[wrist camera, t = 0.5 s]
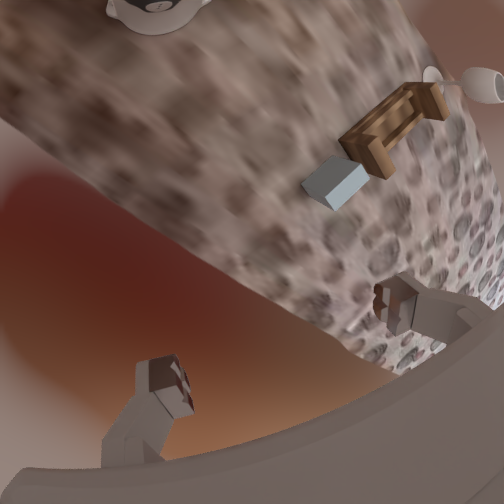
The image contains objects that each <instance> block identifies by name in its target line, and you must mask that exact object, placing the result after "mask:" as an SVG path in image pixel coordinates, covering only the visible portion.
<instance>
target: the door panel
mask: <svg viewBox="0 0 504 504" xmlns="http://www.w3.org/2000/svg"><path fill="white" fill-rule="evenodd" d="M369 179H370V178H369V176H368V175H367V173H366V171H365V169H364V168H363V166H362V164H361V163H357V162H354V161H351V160H347V159H344V158H340V157H337V156H333V155H332V156H331V157H330V158H329V159H328V160H327V161H326V162H325V163H323V164H322V165H321V166H320V167H319V168H318V169H317V170H316V171H315V172H314V173H312V174H311V175H310V176H309V177H308V178H307V179H306V180H305V181H304V182H302V183H301V185H302V187H303V188H304V189H305V190H306V192H307V193H308V194H309V196H310V197H312V198H313V199H315V200H317V201H318V202H320V203H322V204H323V205H325V206H327V207H328V208H330V209H332V210H333V211H336V210H337V209H339V208H340V207H341V206H342V205H343V204H344V203H345V202H346V201H347V200H348V199H349V198H350V197H351V196H352V195H353V194H354V193H355V192H356V191H358V190H359V189H360V188H361V187H362V186H363V185H364V184H365V183H366V182H367V181H368V180H369Z"/></svg>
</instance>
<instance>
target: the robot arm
mask: <svg viewBox="0 0 504 504" xmlns="http://www.w3.org/2000/svg"><path fill="white" fill-rule="evenodd" d="M211 1H212V0H108V4H107V8H106V13H107V15H108V16H110V17H112V18H115V19H119V20H120V21H122V22H123V23H124V24H125V25H126V26H127V27H128V28H129V29H131V30H132V31H134V32H137V33H140V34H145V35H161V34H166V33H169V32H172V31H175V30H177V29H179V28H181V27H182V26H184V25H185V24H187V23H188V22H189V21H190V20H191V19H192V18H193V17H194V16H195V14H196V13H197V11H198V10H199V9H200V8H201V7H203V6H204V5H206V4H208V3H209V2H211ZM112 5H113V6H112ZM374 293H375V295H376V297H375V298H374V300H373V310H374V313H375V315H376V317H377V318H378V319H379V320H380V321H382V322H385V323H387V328H388V330H389V331H390V332H391V333H392V334H393V335H394V336H395V337H396V336H398V335H400V334H402V333H404V332H406V331H408V330H410V329H411V330H413V331H415V332H418V333H420V334H423V335H425V336H428V337H430V338H433V339H435V340H438V341H440V342H443V343H446V344H447V345H446V348H444V349H443V350H441V351H440V352H438V353H437V354H435V355H434V356H432V357H431V358H429V359H428V360H426V361H425V362H423V363H421V364H420V365H418V366H417V367H415V368H413V369H412V370H410V371H408V372H407V373H405V374H403V375H401V376H400V377H398V378H396V379H394V380H393V381H391V382H389V383H387V384H386V385H384V386H382V387H380V388H378V389H376V390H374V391H372V392H370V393H368V394H366V395H365V396H362V397H360V398H358V399H356V400H354V401H352V402H350V403H348V404H346V405H344V406H342V407H339V408H337V409H335V410H333V411H330V412H328V413H326V414H323V415H321V416H319V417H317V418H314V419H311V420H309V421H306V422H304V423H301V424H299V425H296V426H293V427H291V428H288V429H285V430H282V431H280V432H277V433H274V434H271V435H268V436H265V437H262V438H258V439H255V440H252V441H249V442H245V443H242V444H239V445H235V446H231V447H227V448H224V449H220V450H216V451H211V452H207V453H203V454H198V455H194V456H189V457H184V458H179V459H173V460H168V461H166V460H165V459H163V458H162V457H161V456H160V452H161V450H162V448H163V445H164V443H165V441H166V438H167V436H168V434H169V431H170V429H171V427H172V424H173V422H174V419H176V418H180V417H184V416H188V415H192V414H195V411H194V406H193V400H192V398H191V397H190V395H189V393H190V392H191V388H190V383H189V380H188V377H187V374H186V372H185V370H184V369H183V368H182V367H180V363H179V359H178V357H177V356H176V354H171V355H167V356H163V357H159V358H154V359H150V360H147V361H142V362H138V363H137V365H136V390H135V393H136V394H135V396H132V397H131V398H130V400H129V401H128V403H127V404H126V406H125V407H124V409H123V410H122V412H121V413H120V415H119V416H118V418H117V419H116V420H115V422H114V424H113V425H112V426H111V428H110V429H109V431H108V432H107V434H106V435H105V437H104V438H103V440H102V454H101V468H93V469H46V468H33V467H28V468H23V469H22V470H20V471H19V472H18V473H17V474H16V476H15V477H14V478H13V479H12V480H11V482H10V483H9V484H8V486H7V487H6V488H5V489H4V491H3V493H2V495H1V498H0V504H504V303H503V304H501V305H500V306H499V307H498V308H497V309H496V310H492V309H491V308H490V307H489V306H487V305H486V304H485V303H483V302H482V301H481V300H479V299H478V298H477V297H473V296H468V295H463V294H459V293H454V292H449V291H444V290H440V289H435V288H430V289H428V288H427V287H426V286H424V285H423V284H422V283H420V282H419V281H418V280H416V279H415V278H414V277H412V276H411V275H410V274H408V273H407V272H404V271H403V272H401V273H398V274H396V275H394V276H392V277H390V278H388V279H385V280H383V281H381V282H379V283H376V284H375V286H374Z"/></svg>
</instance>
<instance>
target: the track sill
mask: <svg viewBox="0 0 504 504" xmlns="http://www.w3.org/2000/svg"><path fill="white" fill-rule="evenodd" d="M449 115H450V112H449V110H448V107H447V105H446V102H445V100H444V98H443V95H442V93H441V91H440V89H439V87H438V84H437V82H405V83H404V84H403V85H401V86H400V87H399V88H398V89H397V90H395V91H394V92H393V93H392V94H391V95H390V96H388V97H387V98H386V99H385V100H384V101H382V102H381V103H380V104H379V105H378V106H377V107H375V108H374V109H373V110H372V111H371V112H370V113H368V114H367V115H366V116H365V117H364V118H363V119H362V120H360V121H359V122H358V123H357V124H356V125H355V126H353V127H352V128H351V129H350V130H349V131H348V132H347V133H345V134H344V135H343V136H342V137H341V138H340V139H339V140H338V141H339V142H340V144H341V145H342V147H343V148H344V150H345V151H346V153H347V154H348V156H349V158H350V159H351V161H354V162H357V163H361V164H362V166H363V168H364V169H365V171H366V173H368V174H371V175H374V176H377V177H379V178H382V179H385V180H387V179H388V178H389V177H390V176H391V175H392V174H393V173H394V172H395V171H396V169H395V167H394V165H393V163H392V161H391V159H390V157H389V155H388V153H387V152H388V151H389V150H390V149H391V148H392V147H393V146H394V145H395V144H396V143H397V142H398V141H400V140H401V139H402V138H403V137H404V136H405V135H406V134H407V133H408V132H409V131H410V130H411V129H412V128H413V127H414V126H415V125H416V124H417V123H418V122H419V121H420V120H421V119H422V118H427V119H434V120H441V121H445V119H446V118H447V117H448V116H449Z"/></svg>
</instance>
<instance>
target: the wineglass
mask: <svg viewBox="0 0 504 504" xmlns="http://www.w3.org/2000/svg"><path fill="white" fill-rule="evenodd" d="M423 82H437V84H438V87H439V89H440V91H441V93H442V94H443V91H444V85H458V86H462V88H463V90H464V92H465V93H466V94H467V95H468V96H469V97H470V98H471V99H473V100H475V101H478V102H482V103H502V102H504V77H503V76H502V75H501V73H499V72H496V71H494V70H491V69H487V68H480V67H479V68H478V67H474V68H469V69H467V70H466V71H465V72H464V73H463V75H462V78H461V81H444V80H443V78H442V75H441V74H440V72H439V71H438V70H437V69H436V68H435V67H433V66H428V67H427V68H426V69H425V70H424V72H423Z"/></svg>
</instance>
